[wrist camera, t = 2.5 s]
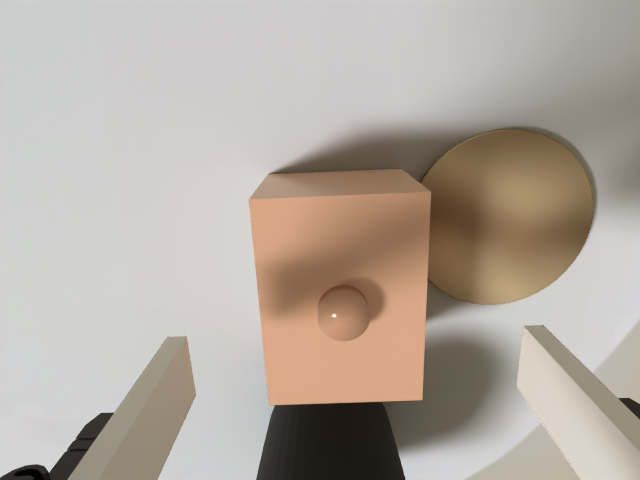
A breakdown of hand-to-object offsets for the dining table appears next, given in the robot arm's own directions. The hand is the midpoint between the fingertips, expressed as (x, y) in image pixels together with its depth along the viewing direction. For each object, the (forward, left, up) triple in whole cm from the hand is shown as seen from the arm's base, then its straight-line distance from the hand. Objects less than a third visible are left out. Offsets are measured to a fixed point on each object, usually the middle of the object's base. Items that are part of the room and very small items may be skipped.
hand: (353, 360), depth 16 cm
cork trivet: (-2, +10, -11) cm, 15 cm away
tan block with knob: (0, 0, -11) cm, 11 cm away
